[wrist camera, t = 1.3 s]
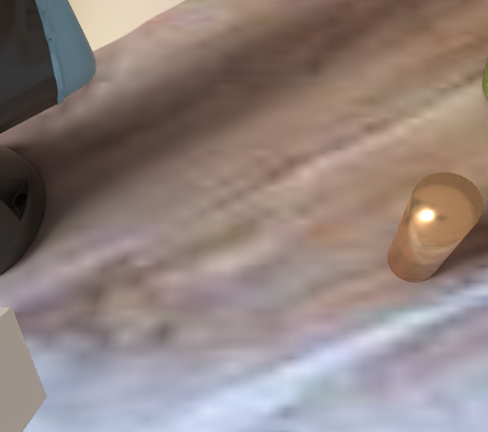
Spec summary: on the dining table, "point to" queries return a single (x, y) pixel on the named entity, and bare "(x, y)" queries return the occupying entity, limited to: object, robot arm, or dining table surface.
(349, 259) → the dining table surface
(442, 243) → the copper pin
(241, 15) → the dining table surface
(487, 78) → the plant pot
